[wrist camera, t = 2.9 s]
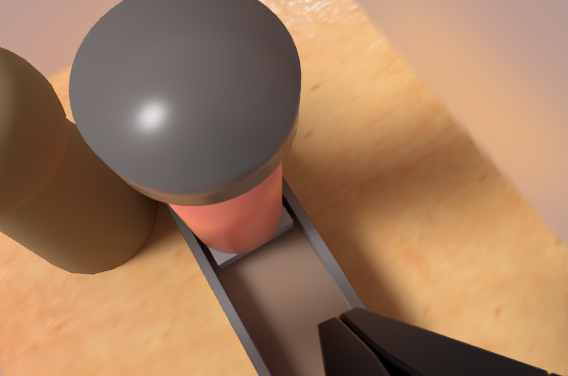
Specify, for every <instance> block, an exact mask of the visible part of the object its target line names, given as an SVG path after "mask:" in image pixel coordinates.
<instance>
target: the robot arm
mask: <svg viewBox="0 0 568 376" xmlns="http://www.w3.org/2000/svg"><path fill="white" fill-rule="evenodd" d="M317 332H318V338H319V344H320V351H321V357H322V364H323V370H324V376H561V375H558V374H555V373H550V375H549V374H548V372H547V371H546V370H543V369H540V368H537V367H534V366H531V365H529V364H526V363H523V362H520V361H517V360H514V359H511V358H508V357H505V356H502V355H499V354H496V353H494V352H491V351H488V350H485V349H482V348H479V347H476V346H473V345H470V344H467V343H464V342H461V341H458V340H456V339H453V338H450V337H447V336H444V335H441V334H438V333H435V332H432V331H429V330H426V329H423V328H420V327H418V326H415V325H412V324H409V323H406V322H403V321H400V320H397V319H394V318H391V317H388V316H385V315H382V314H380V313H377V312H374V311H371V310H368V309H365V308H362V307H355V308H353V309H350V310H348V311H346V312H344V313H341V314H340V315H339V317H332V318H330V319H328V320H326V321H323V322H321V323H319V324H318V325H317Z"/></svg>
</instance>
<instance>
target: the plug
mask: <svg viewBox="0 0 568 376" xmlns="http://www.w3.org/2000/svg"><path fill="white" fill-rule="evenodd" d="M300 90H301V68H300V60H299V56H298V52H297V49H296V46H295V44H294V42H293V39H292V37H291V35H290V34H289V32H288V30H287V29H286V27H285V25H284V24H283V23H282V22H281V20H280V19H279V18H278V17H277V16H276V15H275V14H274V13H273V12H272V11H271V10H270V9H269V8H268V7H267V6H265V5H264V4H262V3H261V2H260V1H258V0H124V1H122V2H120V3H119V4H118V5H116V6H115V7H113V8H112V9H111V10H109V11H108V12H107V13H106V14H105V15H104V16H102V17H101V18H100V19H99V21H98V22H97V23H96V24H95V25H94V26H93V27H92V28H91V30H90V31H89V33H88V34H87V35H86V37H85V38H84V40H83V42H82V44H81V45H80V47H79V49H78V51H77V54H76V56H75V59H74V62H73V65H72V69H71V74H70V82H69V98H70V106H71V110H72V114H73V118H74V120H75V123H76V125H77V128H78V130H79V132H80V133H81V135H82V137H83V138H84V140H85V142H86V143H87V144H88V145H89V147H90V148H91V149H92V150H93V151H94V152H95V154H96V155H98V156H99V157H100V158H101V159H102V160H103V161H104V162H105V163H106V164H107V165H108V166H109V167H110V168H111V169H112V170H113V171H114V172H115V173H116V174H117V175H118V176H119V177H121V178H122V179H123V180H124V181H125V182H126V183H127V184H128V185H130V186H131V187H132V188H134V189H135V190H137V191H138V192H140V193H142V194H144V195H146V196H148V197H150V198H152V199H155V200H158V201H161V202H164V203H168V204H169V205H170V207H171V208H172V209H173V210H174V211H175V212H176V213H177V214H178V216H179V217H180V218H181V219H182V220H183V221H184V222H185V223H186V225H187V226H188V227H189V228H190V229H191V230H192V231H193V232H194V234H195V235H196V236H197V237H198V238H199V239H200V240H201V241H202V242H203V243H204V244H205V245H207V246H208V248H209V250H210V251H211V253H212V255H213V257H214V259H215V260H216V262H217V264H218V266H219V267H220V268H221V269H223V268H225V267H227V266H228V265H230V264H232V263H234V262H235V261H237V260H239V259H240V258H242V257H244V256H245V255H247V254H249V253H250V252H252V251H254V250H256V249H257V248H259V247H261V246H262V245H264V244H266V243H267V242H269V241H271V240H273V239H274V238H276V237H278V236H279V235H281V234H283V233H284V232H286V231H288V230H289V229H291V228H293V220H292V219H291V217H290V215H289V214H288V212H287V211H286V209H285V207H284V206H283V204H282V160H283V159H284V157H285V156H286V154H287V152H288V151H289V149H290V147H291V145H292V142H293V139H294V136H295V133H296V129H297V124H298V117H299V103H300Z"/></svg>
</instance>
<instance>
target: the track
mask: <svg viewBox="0 0 568 376" xmlns="http://www.w3.org/2000/svg"><path fill="white" fill-rule="evenodd" d="M165 204H166V205H167V207H168V209H169V211H170V213H171V215H172V216H173V218H174V220H175V222H176V224H177V226H178V228H179V229H180V231H181V233H182V235H183V237H184V239H185V240H186V242H187V244H188V246H189V248H190V250H191V251H192V253H193V255H194V257H195V259H196V261H197V263H198V264H199V266H200V268H201V270H202V272H203V274H204V275H205V277H206V279H207V281H208V283H209V285H210V286H211V288H212V290H213V292H214V294H215V296H216V298H217V299H218V301H219V303H220V305H221V307H222V309H223V310H224V312H225V314H226V316H227V318H228V320H229V321H230V323H231V325H232V327H233V329H234V331H235V333H236V334H237V336H238V338H239V340H240V342H241V344H242V345H243V347H244V349H245V351H246V353H247V355H248V356H249V358H250V360H251V362H252V364H253V366H254V368H255V369H256V371H257V373H258V375H259V376H324V370H323V364H322V357H321V351H320V344H319V338H318V332H317V325H318V324H319V323H321V322H323V321H326V320H328V319H330V318H332V317H339V315H340V314H341V313H344V312H346V311H348V310H350V309H353V308H355V307H362V308H365V309H366V307H365V306H364V304H363V303H362V301H361V299H360V298H359V296H358V295H357V293H356V291H355V290H354V288H353V287H352V285H351V284H350V282H349V280H348V279H347V277H346V276H345V274H344V273H343V271H342V269H341V268H340V266H339V265H338V263H337V261H336V260H335V258H334V257H333V255H332V254H331V252H330V250H329V249H328V247H327V246H326V244H325V243H324V241H323V239H322V238H321V236H320V235H319V233H318V231H317V230H316V228H315V227H314V225H313V224H312V222H311V220H310V219H309V217H308V216H307V214H306V213H305V211H304V209H303V208H302V206H301V205H300V203H299V201H298V200H297V198H296V197H295V195H294V194H293V192H292V190H291V189H290V187H289V186H288V184H287V183H286V181H285V179H284V178H283V176H282V204H283V206H284V207H285V209H286V211H287V212H288V214H289V215H290V217H291V219H292V220H293V228H291V229H289V230H288V231H286V232H284V233H283V234H281V235H279V236H278V237H276V238H274V239H273V240H271V241H269V242H267V243H266V244H264V245H262V246H261V247H259V248H257V249H256V250H254V251H252V252H250V253H249V254H247V255H245V256H244V257H242V258H240V259H239V260H237V261H235V262H234V263H232V264H230V265H228V266H227V267H225V268H223V269H221V268H220V267H219V266H218V264H217V262H216V260H215V259H214V257H213V255H212V253H211V251H210V250H209V248H208V246H207V245H205V244H204V243H203V242H202V241H201V240H200V239H199V238H198V237H197V236H196V235H195V234H194V232H193V231H192V230H191V229H190V228H189V227H188V226H187V225H186V223H185V222H184V221H183V220H182V219H181V218H180V217H179V216H178V214H177V213H176V212H175V211H174V210H173V209H172V208H171V207H170V205H169V204H168V203H165Z"/></svg>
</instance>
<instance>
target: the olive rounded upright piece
mask: <svg viewBox="0 0 568 376" xmlns="http://www.w3.org/2000/svg"><path fill="white" fill-rule="evenodd" d="M156 210H157V202H156V200H155V199H152V198H150V197H148V196H146V195H144V194H142V193H140V192H138V191H137V190H135V189H134V188H132V187H131V186H130V185H128V184H127V183H126V182H125V181H124V180H123V179H122V178H121V177H119V176H118V175H117V174H116V173H115V172H114V171H113V170H112V169H111V168H110V167H109V166H108V165H107V164H106V163H105V162H104V161H103V160H102V159H101V158H100V157H99V156H98V155H96V154H95V152H94V151H93V150H92V149H91V148H90V147H89V145H88V144H87V143H86V142H85V140H84V138H83V137H82V135H81V133H80V132H79V130H78V128H77V125H76V124H74V123H73V122H71V121H70V120H68V119H67V118H66V114H65V112H64V109H63V106H62V104H61V102H60V100H59V98H58V96H57V95H56V93H55V91H54V89H53V87H52V85H51V84H50V83H49V82H48V80H47V79H46V78H45V77H44V76H43V75H42V74H41V73H40V72H39V71H38V70H36V69H35V68H34V67H33V66H32V65H31V64H30V63H28V62H27V61H26V60H25V59H23V58H22V57H20V56H18V55H16V54H15V53H13V52H11V51H9V50H6V49H4V48H1V47H0V231H1V232H2V233H4V234H5V235H7V236H9V237H10V238H12V239H13V240H15V241H16V242H18V243H20V244H21V245H23V246H24V247H26V248H27V249H29V250H31V251H32V252H34V253H35V254H37V255H38V256H40V257H42V258H43V259H45V260H46V261H48V262H49V263H51V264H53V265H54V266H57V267H59V268H61V269H64V270H66V271H68V272H71V273H80V274H95V273H99V272H103V271H108V270H112V269H114V268H115V267H117V266H119V265H120V264H122V263H124V262H126V261H127V260H129V259H131V258H132V257H133V255H134V254H135V253H136V252H137V251H138V250H139V249H140V248H141V247H142V246H143V245H144V244H145V242H146V240H147V238H148V236H149V234H150V232H151V230H152V228H153V226H154V223H155V217H156Z"/></svg>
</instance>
